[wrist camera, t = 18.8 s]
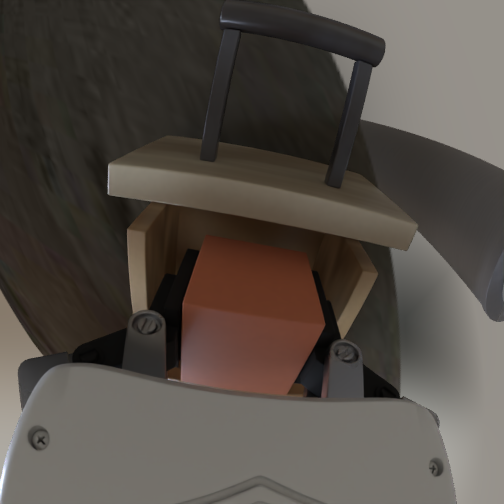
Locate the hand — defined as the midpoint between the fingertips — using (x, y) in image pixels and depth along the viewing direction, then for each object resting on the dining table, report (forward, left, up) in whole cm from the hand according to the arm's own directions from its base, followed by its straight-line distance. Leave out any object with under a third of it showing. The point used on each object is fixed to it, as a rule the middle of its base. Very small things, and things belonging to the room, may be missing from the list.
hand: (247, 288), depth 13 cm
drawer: (-1, -2, -5) cm, 6 cm away
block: (0, 0, 0) cm, 0 cm away
